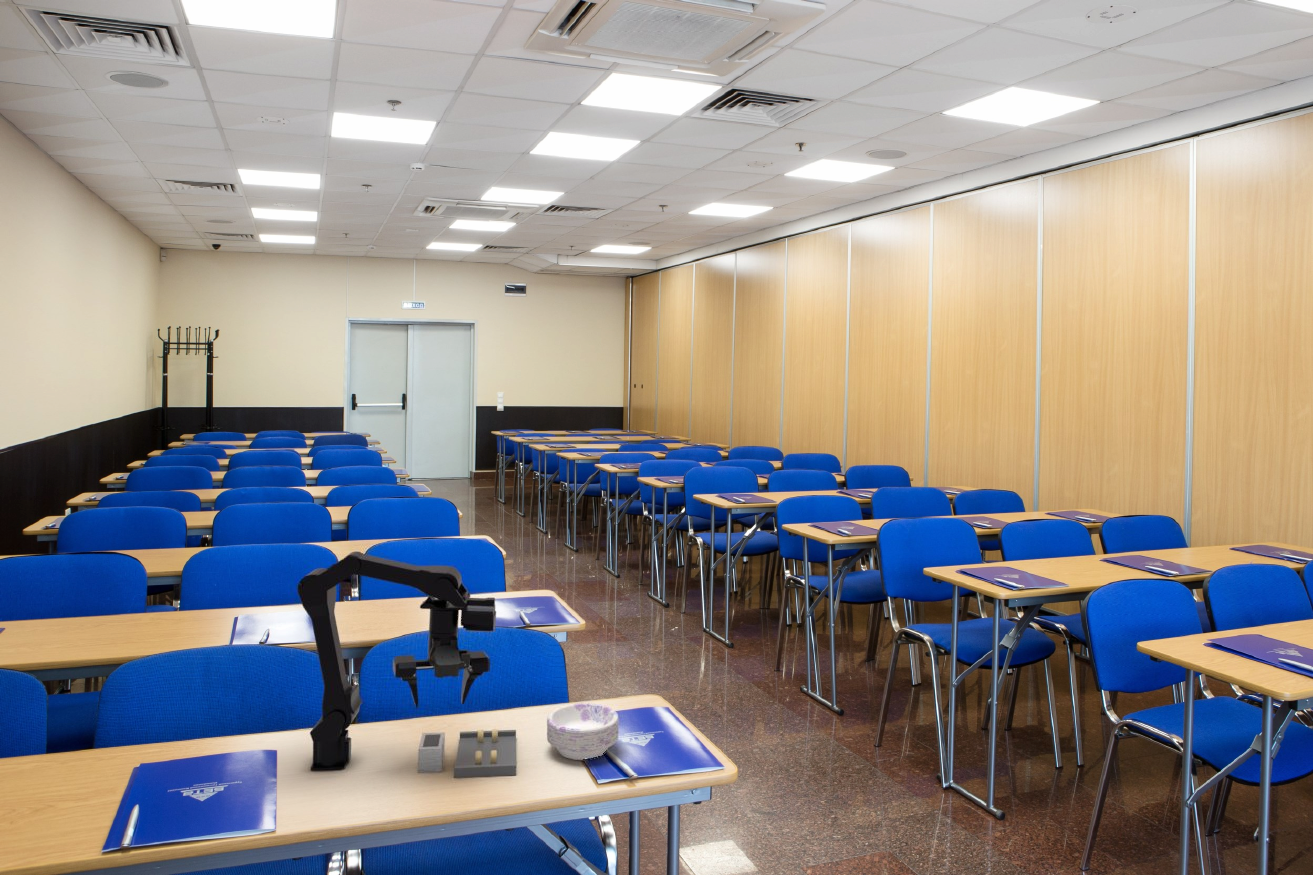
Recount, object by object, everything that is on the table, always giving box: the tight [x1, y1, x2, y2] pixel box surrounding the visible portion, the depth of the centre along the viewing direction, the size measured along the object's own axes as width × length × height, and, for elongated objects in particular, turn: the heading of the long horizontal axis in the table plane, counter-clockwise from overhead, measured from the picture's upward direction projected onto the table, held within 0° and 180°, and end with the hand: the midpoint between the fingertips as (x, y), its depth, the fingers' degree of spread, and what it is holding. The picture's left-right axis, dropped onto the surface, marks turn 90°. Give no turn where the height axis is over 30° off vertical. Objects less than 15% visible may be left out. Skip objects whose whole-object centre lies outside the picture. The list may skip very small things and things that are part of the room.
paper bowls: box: [546, 702, 620, 761], centre depth 183 cm, size 15×15×8 cm
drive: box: [417, 732, 446, 774], centre depth 175 cm, size 4×8×5 cm, turn 9°
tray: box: [453, 728, 517, 779], centre depth 179 cm, size 12×18×4 cm, turn 9°
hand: (439, 705), depth 175 cm, fingers open, 9 cm apart
